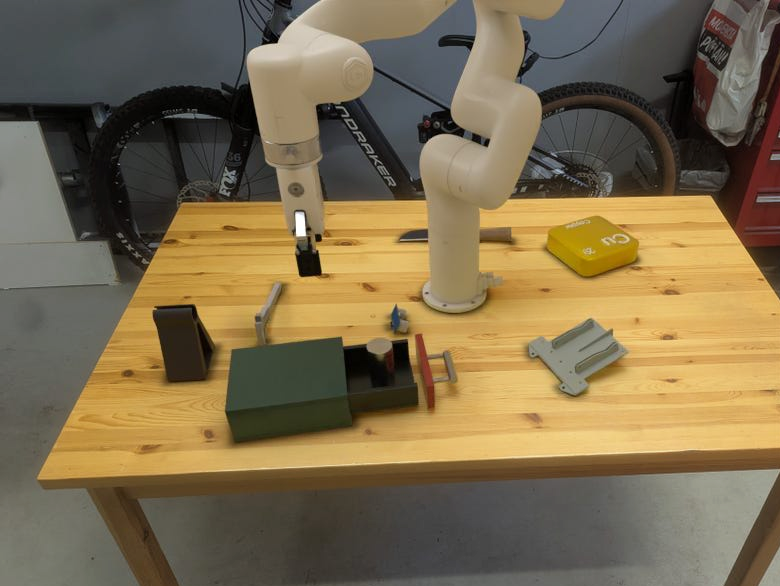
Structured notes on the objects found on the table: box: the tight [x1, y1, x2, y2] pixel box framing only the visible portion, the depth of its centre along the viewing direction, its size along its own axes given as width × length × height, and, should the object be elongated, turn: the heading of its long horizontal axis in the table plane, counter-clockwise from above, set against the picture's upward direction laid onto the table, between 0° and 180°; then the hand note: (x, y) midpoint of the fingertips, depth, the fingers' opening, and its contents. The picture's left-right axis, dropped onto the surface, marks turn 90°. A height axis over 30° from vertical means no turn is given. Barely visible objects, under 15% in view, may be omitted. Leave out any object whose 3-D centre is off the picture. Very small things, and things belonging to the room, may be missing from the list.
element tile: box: [546, 215, 640, 278], centre depth 142 cm, size 15×15×5 cm
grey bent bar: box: [254, 282, 283, 346], centre depth 123 cm, size 20×1×6 cm, turn 5°
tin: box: [366, 337, 395, 388], centre depth 106 cm, size 4×4×8 cm
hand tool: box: [398, 226, 512, 242], centre depth 148 cm, size 6×3×25 cm
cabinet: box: [224, 335, 353, 443], centre depth 105 cm, size 18×15×7 cm
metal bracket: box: [528, 317, 629, 396], centre depth 115 cm, size 14×6×15 cm
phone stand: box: [151, 303, 216, 383], centre depth 110 cm, size 9×6×12 cm, turn 6°
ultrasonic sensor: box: [389, 303, 410, 335], centre depth 122 cm, size 6×2×3 cm, turn 12°
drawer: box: [343, 333, 459, 416], centre depth 108 cm, size 21×13×5 cm, turn 102°
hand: (311, 257), depth 99 cm, fingers open, 9 cm apart
